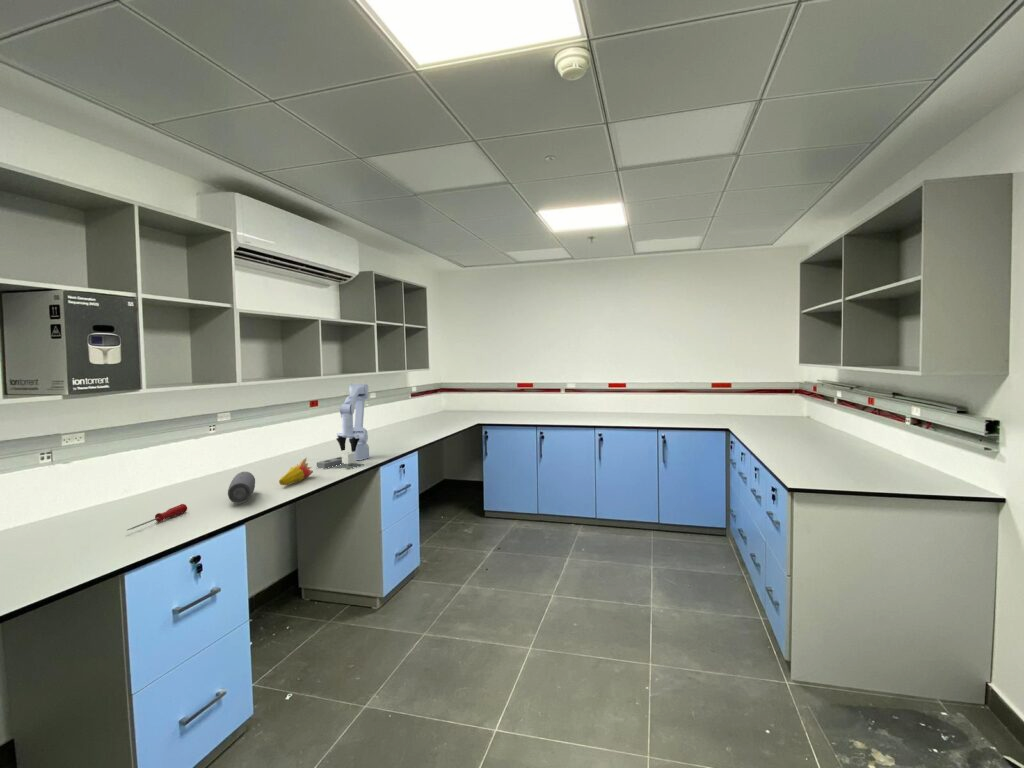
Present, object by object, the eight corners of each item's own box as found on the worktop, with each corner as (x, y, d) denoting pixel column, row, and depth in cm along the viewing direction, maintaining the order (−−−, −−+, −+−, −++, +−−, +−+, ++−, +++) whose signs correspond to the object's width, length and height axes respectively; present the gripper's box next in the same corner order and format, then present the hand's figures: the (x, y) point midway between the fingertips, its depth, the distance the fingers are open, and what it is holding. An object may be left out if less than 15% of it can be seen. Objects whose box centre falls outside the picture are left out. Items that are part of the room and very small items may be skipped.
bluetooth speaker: (232, 494, 215) (231, 471, 214) (256, 491, 219) (255, 469, 218) (226, 508, 194) (225, 483, 194) (253, 505, 198) (252, 480, 197)
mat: (348, 463, 275) (348, 462, 275) (363, 465, 271) (363, 464, 271) (333, 467, 266) (333, 466, 266) (348, 469, 261) (348, 468, 261)
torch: (280, 496, 224) (306, 476, 248) (294, 488, 223) (318, 469, 247) (270, 481, 223) (297, 462, 247) (284, 473, 221) (309, 455, 246)
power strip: (342, 461, 281) (341, 455, 281) (349, 462, 278) (349, 456, 278) (316, 468, 265) (316, 461, 265) (324, 469, 262) (324, 462, 262)
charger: (348, 464, 271) (348, 452, 271) (355, 464, 269) (354, 452, 269) (342, 465, 267) (341, 453, 266) (348, 466, 265) (347, 454, 264)
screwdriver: (122, 535, 165) (121, 525, 165) (180, 512, 190) (179, 503, 190) (131, 535, 165) (131, 525, 164) (188, 512, 189) (188, 503, 189)
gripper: (332, 426, 267) (332, 451, 267) (352, 427, 260) (352, 453, 261) (341, 424, 273) (342, 448, 274) (361, 425, 266) (362, 450, 267)
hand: (348, 450), depth 268 cm, fingers open, 7 cm apart
